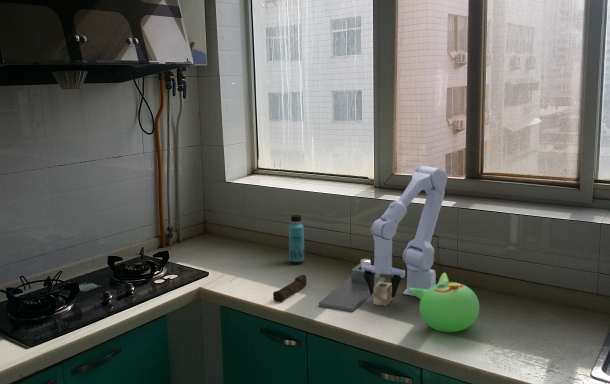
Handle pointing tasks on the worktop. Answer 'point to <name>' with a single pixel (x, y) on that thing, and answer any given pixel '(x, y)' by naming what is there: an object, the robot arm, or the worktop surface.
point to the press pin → (365, 262)
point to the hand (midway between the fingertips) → (382, 294)
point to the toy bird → (447, 305)
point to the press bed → (350, 292)
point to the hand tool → (290, 288)
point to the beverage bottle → (296, 240)
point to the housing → (382, 293)
